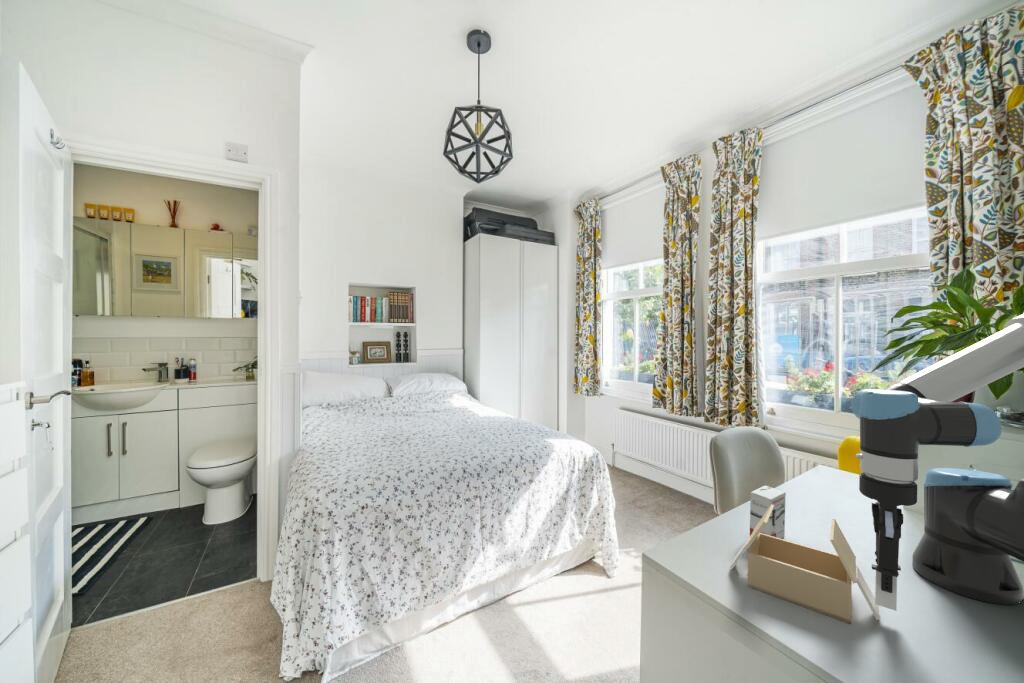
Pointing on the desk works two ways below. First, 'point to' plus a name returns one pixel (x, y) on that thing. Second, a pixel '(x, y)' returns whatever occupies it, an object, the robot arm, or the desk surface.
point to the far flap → (753, 535)
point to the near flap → (852, 565)
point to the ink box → (760, 505)
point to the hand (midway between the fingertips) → (885, 605)
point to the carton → (800, 576)
